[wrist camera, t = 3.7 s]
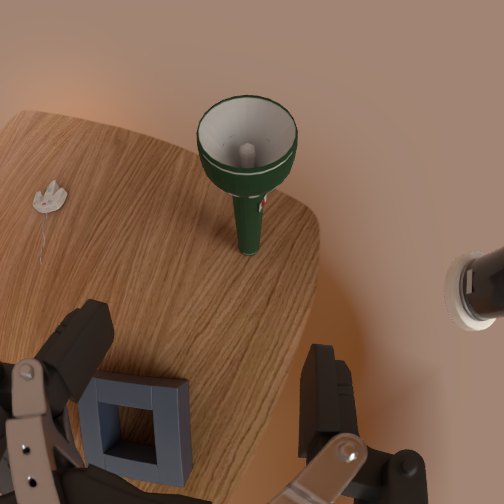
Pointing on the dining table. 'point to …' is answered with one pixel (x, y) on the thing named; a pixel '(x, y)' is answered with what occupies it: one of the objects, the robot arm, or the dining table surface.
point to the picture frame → (5, 475)
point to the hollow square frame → (132, 454)
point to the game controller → (49, 200)
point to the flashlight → (247, 156)
